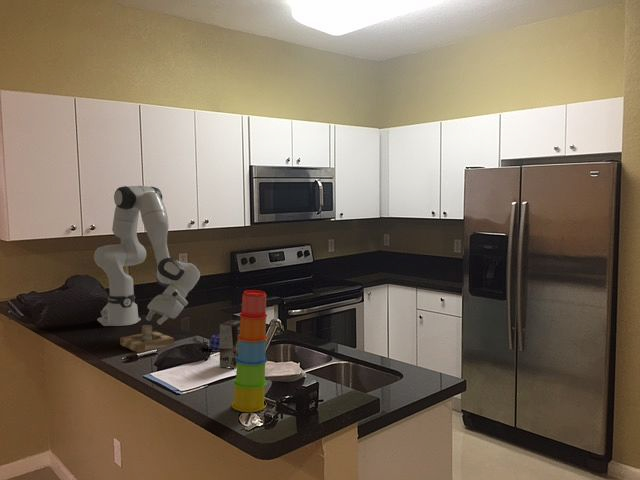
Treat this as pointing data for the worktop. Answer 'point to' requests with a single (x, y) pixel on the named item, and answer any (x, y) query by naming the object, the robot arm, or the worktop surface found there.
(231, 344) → the coffee box
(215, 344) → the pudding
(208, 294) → the worktop surface
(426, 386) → the worktop surface
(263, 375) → the stacking cups
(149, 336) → the peg
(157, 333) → the collar
